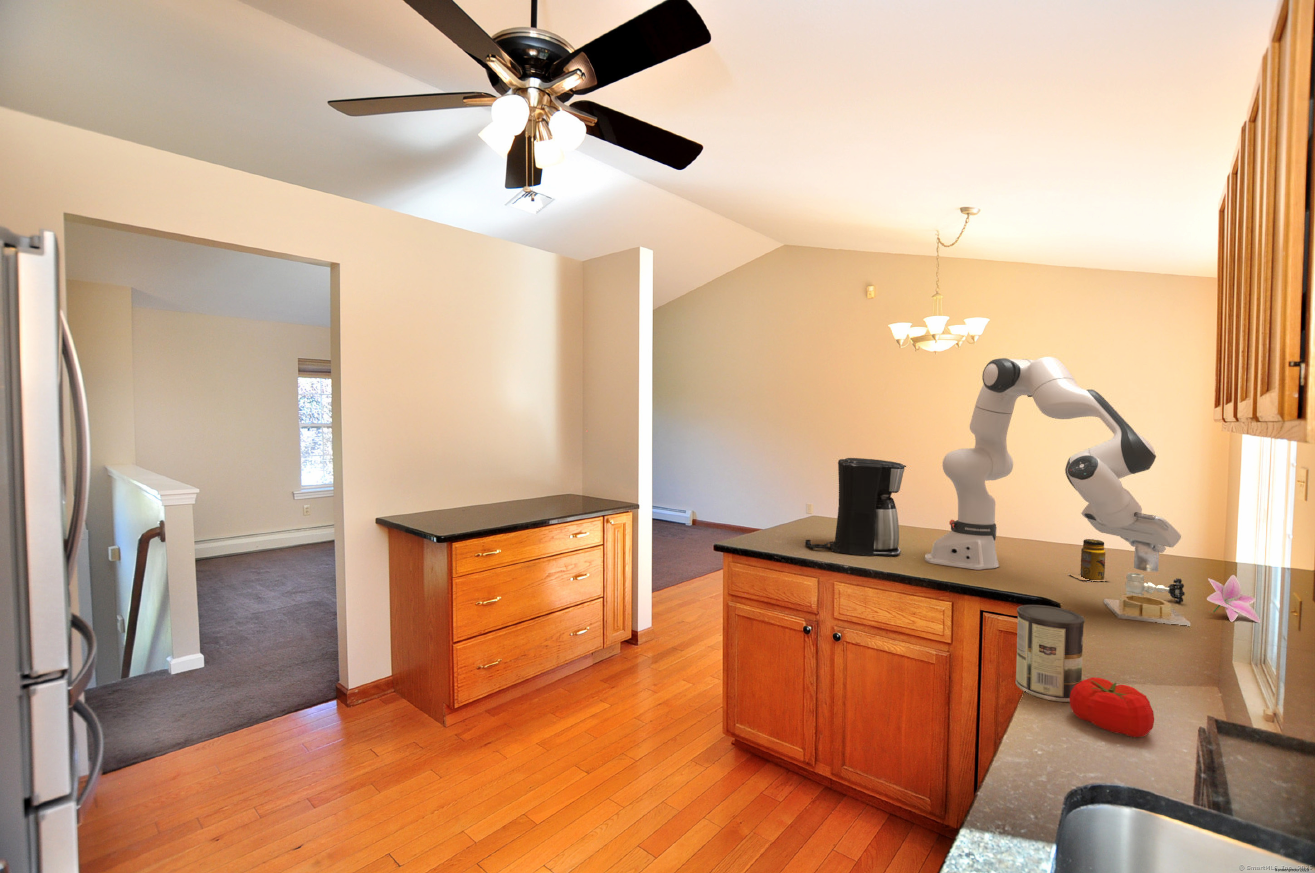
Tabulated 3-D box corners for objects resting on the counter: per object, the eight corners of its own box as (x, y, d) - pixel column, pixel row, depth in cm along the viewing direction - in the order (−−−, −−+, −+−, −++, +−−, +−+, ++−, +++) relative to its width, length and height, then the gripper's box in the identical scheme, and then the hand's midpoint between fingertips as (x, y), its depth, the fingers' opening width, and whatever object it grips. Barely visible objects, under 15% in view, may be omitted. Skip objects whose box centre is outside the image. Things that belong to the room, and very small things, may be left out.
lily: (1195, 620, 152) (1218, 593, 147) (1184, 591, 161) (1205, 565, 156) (1252, 641, 148) (1278, 614, 143) (1238, 611, 157) (1261, 584, 152)
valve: (1128, 599, 166) (1184, 606, 160) (1129, 576, 165) (1185, 581, 160) (1122, 593, 172) (1176, 599, 166) (1123, 570, 171) (1177, 575, 166)
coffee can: (1064, 679, 115) (1067, 605, 114) (1093, 705, 104) (1096, 624, 104) (1005, 674, 116) (1008, 602, 116) (1028, 699, 106) (1031, 620, 106)
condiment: (1111, 582, 183) (1112, 543, 182) (1082, 581, 183) (1083, 542, 183) (1095, 576, 190) (1097, 538, 190) (1067, 575, 191) (1068, 537, 190)
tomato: (1079, 704, 105) (1080, 667, 105) (1160, 729, 97) (1161, 689, 96) (1061, 722, 98) (1062, 683, 98) (1146, 751, 90) (1148, 708, 90)
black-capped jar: (1136, 570, 152) (1138, 533, 152) (1130, 565, 157) (1131, 529, 156) (1162, 572, 150) (1164, 534, 149) (1155, 567, 154) (1156, 531, 154)
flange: (1118, 617, 150) (1118, 604, 150) (1103, 602, 163) (1104, 589, 163) (1190, 626, 144) (1190, 612, 144) (1169, 609, 157) (1169, 596, 157)
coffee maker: (914, 556, 214) (917, 461, 213) (830, 560, 207) (832, 462, 206) (878, 542, 236) (880, 456, 235) (801, 545, 229) (803, 457, 228)
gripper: (1168, 507, 141) (1200, 547, 143) (1090, 495, 161) (1119, 531, 163) (1151, 527, 140) (1184, 567, 143) (1075, 512, 160) (1105, 548, 163)
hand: (1149, 547), depth 153 cm, fingers closed on black-capped jar, 5 cm apart
